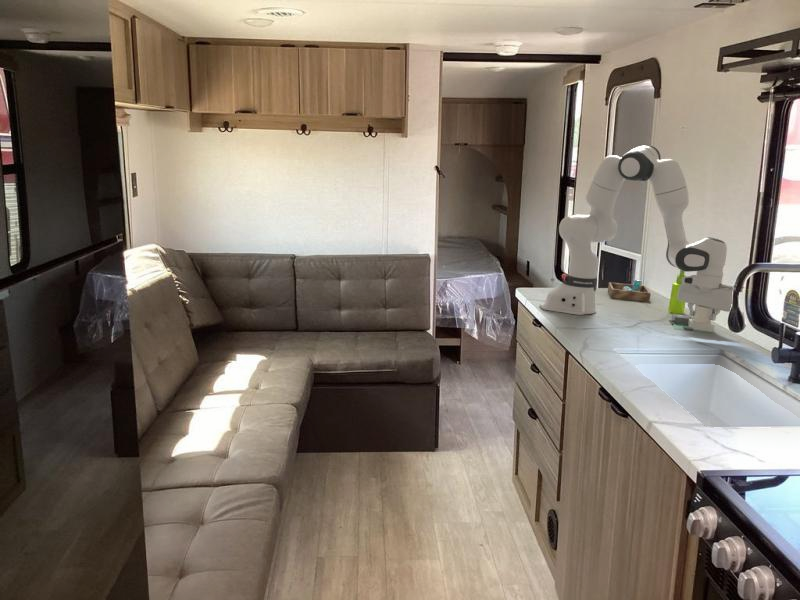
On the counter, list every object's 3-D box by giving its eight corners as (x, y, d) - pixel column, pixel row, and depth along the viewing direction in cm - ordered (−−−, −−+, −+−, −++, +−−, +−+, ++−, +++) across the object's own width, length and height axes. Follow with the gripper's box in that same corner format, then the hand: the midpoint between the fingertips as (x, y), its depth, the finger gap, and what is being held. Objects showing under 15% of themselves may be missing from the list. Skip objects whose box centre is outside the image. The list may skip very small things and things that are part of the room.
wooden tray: (610, 297, 292) (612, 289, 291) (607, 290, 307) (608, 282, 306) (649, 301, 288) (650, 293, 287) (644, 294, 304) (645, 285, 303)
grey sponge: (671, 324, 245) (672, 318, 244) (667, 319, 253) (668, 313, 252) (690, 326, 243) (691, 320, 243) (686, 321, 251) (687, 315, 251)
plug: (695, 327, 240) (699, 307, 238) (691, 325, 244) (695, 304, 242) (711, 329, 240) (715, 308, 238) (707, 326, 243) (711, 306, 242)
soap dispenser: (687, 317, 263) (695, 269, 258) (669, 316, 264) (677, 268, 259) (683, 314, 268) (691, 267, 264) (666, 312, 269) (674, 265, 265)
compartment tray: (674, 332, 239) (676, 322, 238) (667, 322, 253) (669, 313, 252) (715, 336, 236) (716, 327, 235) (705, 326, 250) (707, 317, 249)
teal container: (648, 300, 293) (650, 283, 291) (621, 298, 293) (624, 281, 291) (639, 294, 304) (642, 277, 303) (614, 292, 305) (616, 276, 303)
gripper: (741, 286, 232) (734, 323, 235) (685, 275, 247) (680, 310, 250) (733, 288, 228) (726, 325, 231) (678, 277, 243) (672, 312, 246)
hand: (702, 317), depth 241 cm, fingers closed on plug, 6 cm apart
